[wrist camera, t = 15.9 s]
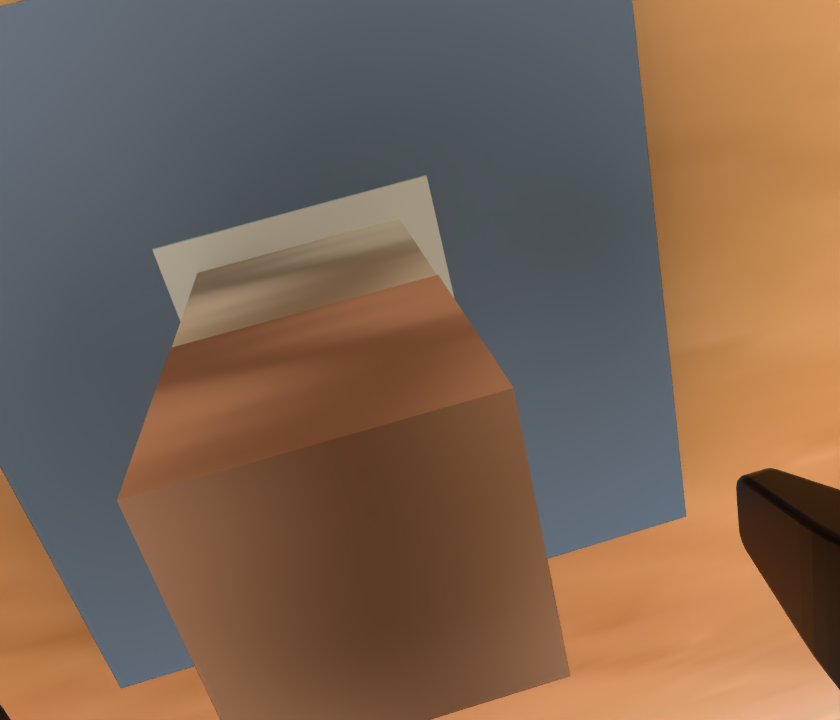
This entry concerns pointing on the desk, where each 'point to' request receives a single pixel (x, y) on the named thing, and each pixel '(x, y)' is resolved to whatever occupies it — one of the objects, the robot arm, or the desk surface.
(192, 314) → the off-white block
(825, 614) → the robot arm
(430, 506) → the terracotta block
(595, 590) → the desk surface
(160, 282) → the board
